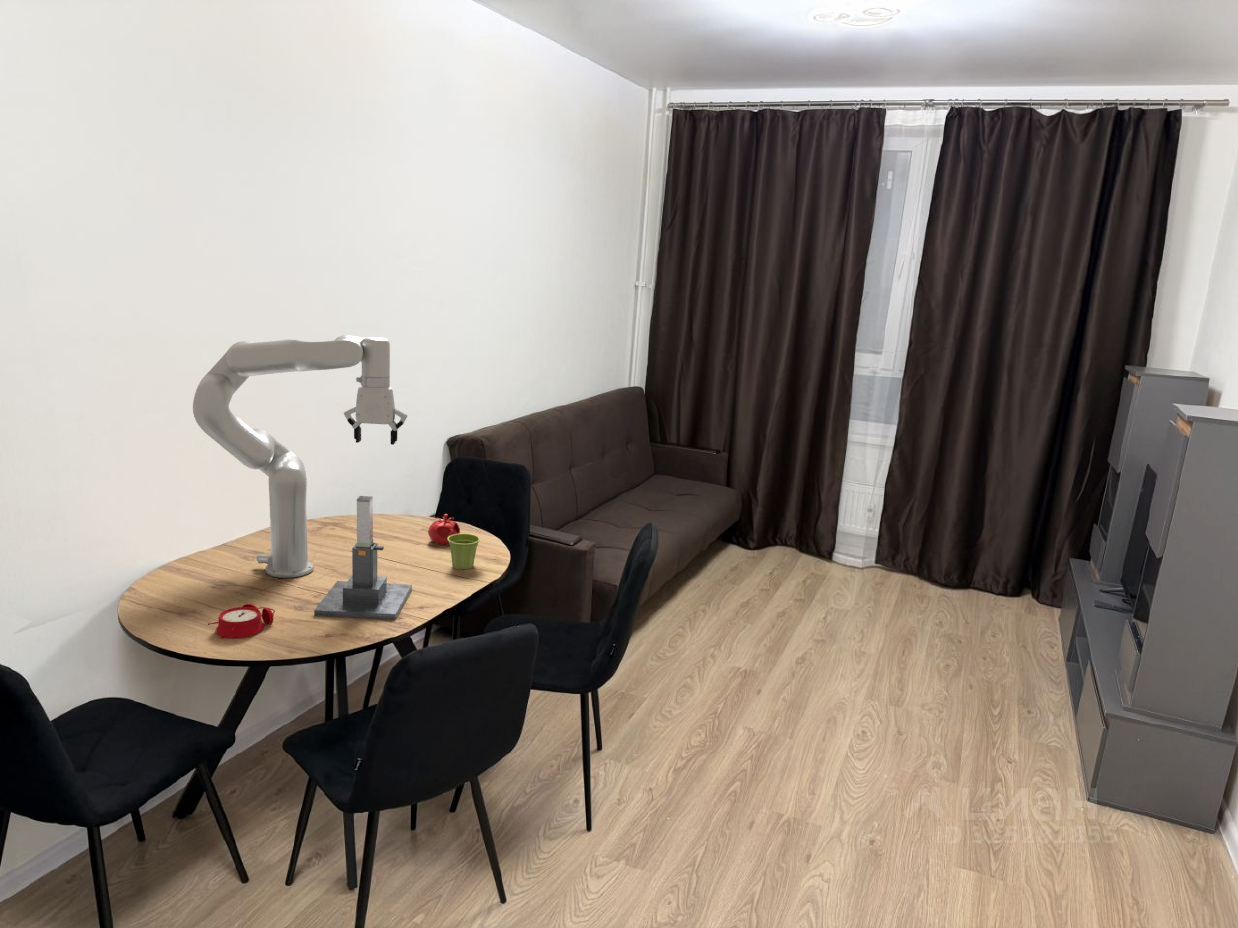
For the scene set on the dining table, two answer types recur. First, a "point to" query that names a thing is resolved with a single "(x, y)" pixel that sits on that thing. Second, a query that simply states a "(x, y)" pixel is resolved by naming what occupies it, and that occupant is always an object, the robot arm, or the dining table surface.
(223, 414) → the robot arm
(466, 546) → the plant pot
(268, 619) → the alarm clock
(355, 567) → the charcoal stand
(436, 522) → the pomegranate
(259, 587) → the dining table surface
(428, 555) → the dining table surface
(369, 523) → the steel post
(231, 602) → the dining table surface
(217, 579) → the dining table surface
